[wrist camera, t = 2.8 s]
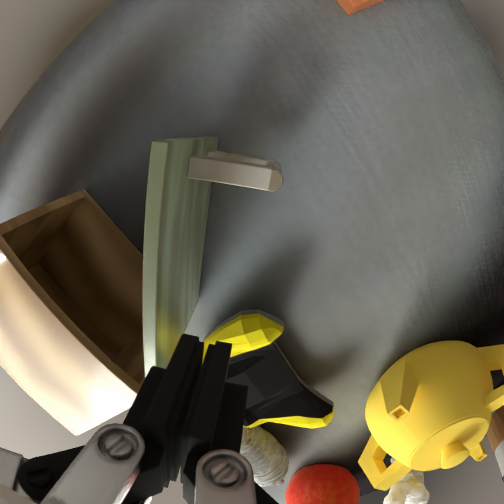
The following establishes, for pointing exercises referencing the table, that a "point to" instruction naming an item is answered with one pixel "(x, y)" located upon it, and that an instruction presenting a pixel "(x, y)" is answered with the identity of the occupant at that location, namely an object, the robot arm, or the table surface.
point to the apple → (322, 486)
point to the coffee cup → (497, 436)
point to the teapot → (431, 410)
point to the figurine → (408, 489)
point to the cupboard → (72, 311)
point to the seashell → (264, 456)
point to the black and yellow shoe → (268, 373)
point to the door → (184, 230)
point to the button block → (356, 5)
